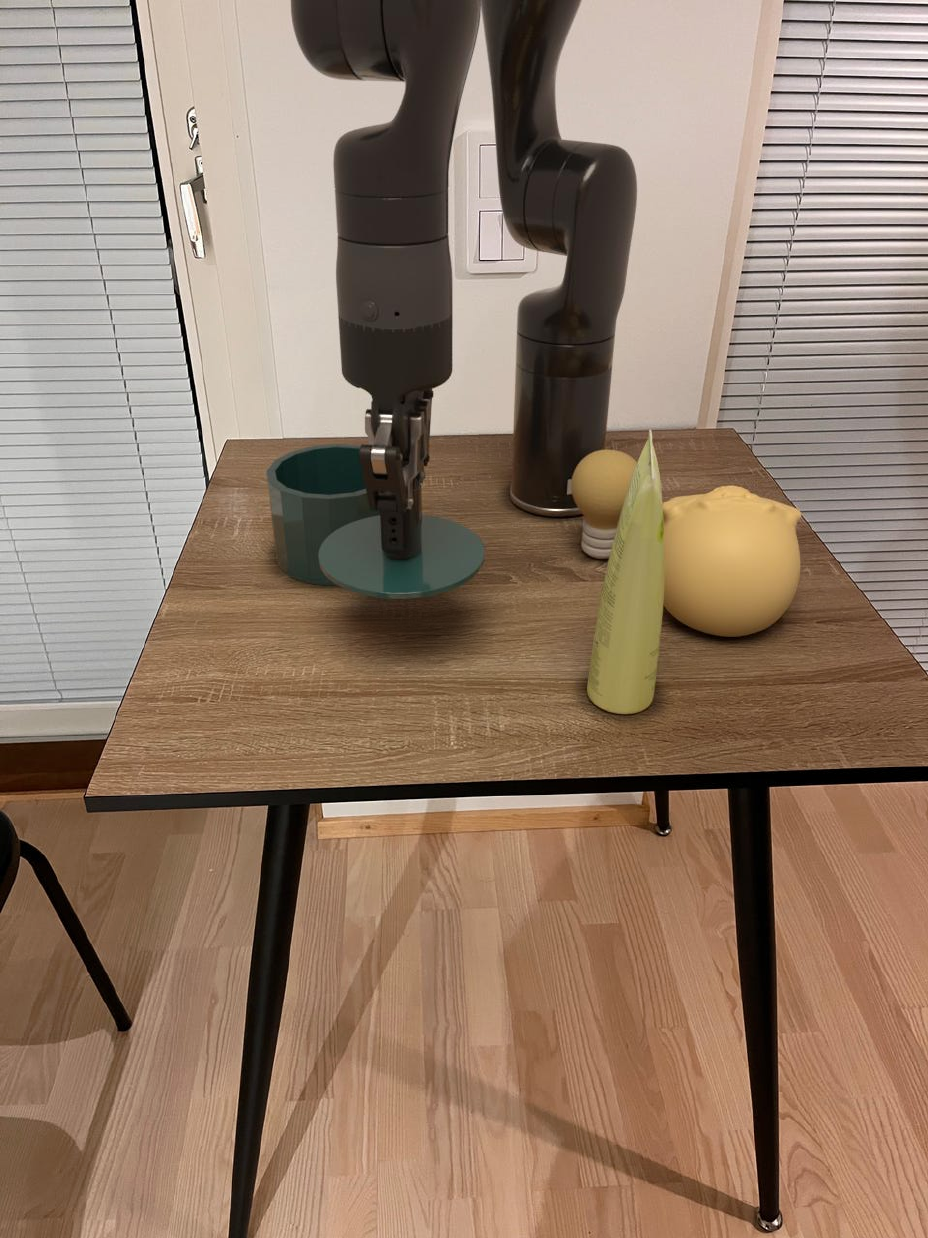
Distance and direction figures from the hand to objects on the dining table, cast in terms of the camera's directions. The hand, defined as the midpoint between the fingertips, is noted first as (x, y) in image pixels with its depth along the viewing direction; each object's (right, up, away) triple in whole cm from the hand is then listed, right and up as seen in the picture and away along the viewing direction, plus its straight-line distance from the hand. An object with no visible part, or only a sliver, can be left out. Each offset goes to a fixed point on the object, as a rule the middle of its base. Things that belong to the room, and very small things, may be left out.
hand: (402, 539), depth 72 cm
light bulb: (+17, 0, +17) cm, 25 cm away
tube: (+16, -12, -1) cm, 20 cm away
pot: (-7, 0, +17) cm, 18 cm away
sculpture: (+26, -6, +9) cm, 28 cm away
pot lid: (0, -1, +1) cm, 1 cm away
